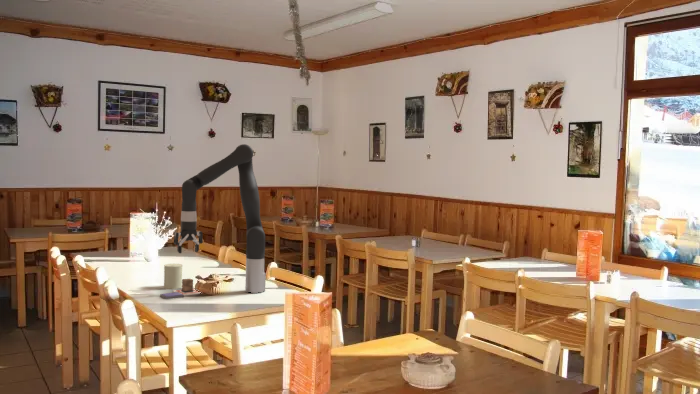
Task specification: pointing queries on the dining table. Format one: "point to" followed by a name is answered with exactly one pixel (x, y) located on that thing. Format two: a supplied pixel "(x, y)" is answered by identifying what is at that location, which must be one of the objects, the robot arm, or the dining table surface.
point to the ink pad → (171, 295)
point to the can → (173, 276)
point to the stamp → (187, 285)
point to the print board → (187, 292)
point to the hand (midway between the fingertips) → (188, 252)
